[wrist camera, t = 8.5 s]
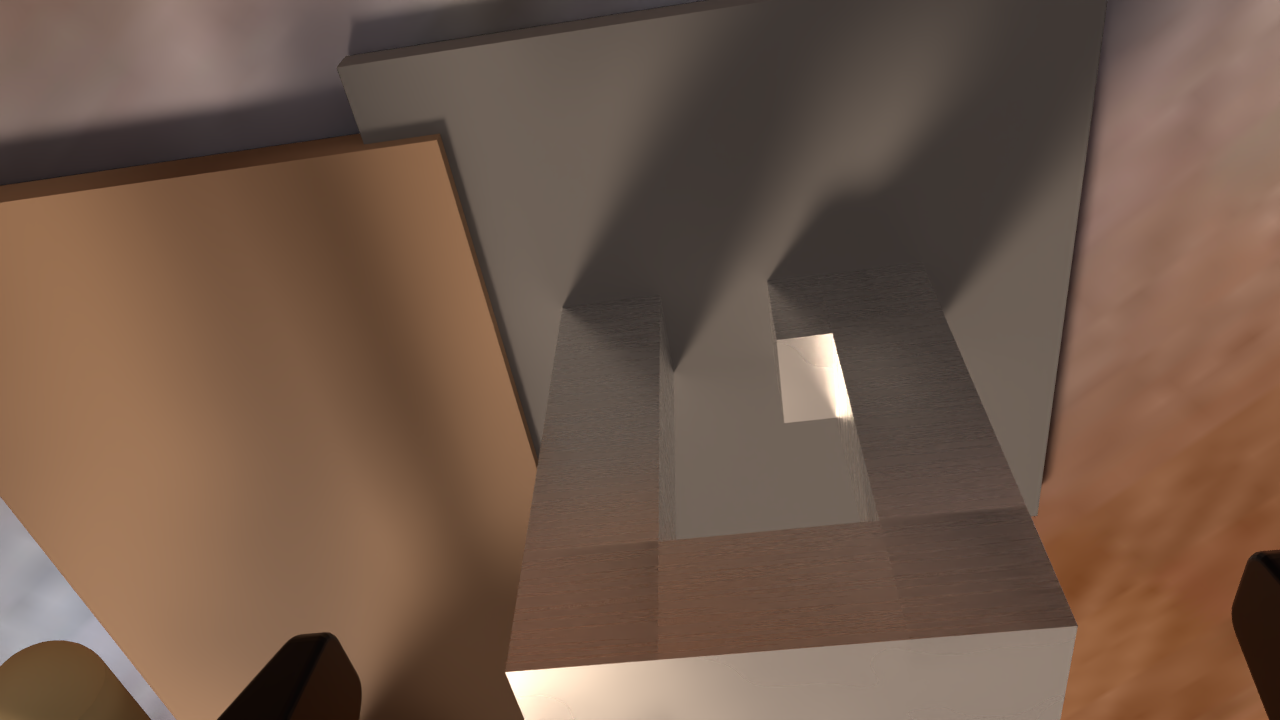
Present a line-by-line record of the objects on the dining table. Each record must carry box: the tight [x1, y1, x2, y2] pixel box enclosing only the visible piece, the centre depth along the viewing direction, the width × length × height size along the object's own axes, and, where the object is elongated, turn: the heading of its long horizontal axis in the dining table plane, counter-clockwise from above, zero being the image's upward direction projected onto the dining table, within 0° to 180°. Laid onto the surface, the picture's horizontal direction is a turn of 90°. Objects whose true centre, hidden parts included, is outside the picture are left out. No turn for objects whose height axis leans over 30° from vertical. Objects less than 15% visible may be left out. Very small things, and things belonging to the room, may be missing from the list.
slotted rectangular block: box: [505, 262, 1078, 720], centre depth 11 cm, size 5×1×6 cm, turn 99°
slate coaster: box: [337, 0, 1107, 540], centre depth 14 cm, size 9×9×1 cm
